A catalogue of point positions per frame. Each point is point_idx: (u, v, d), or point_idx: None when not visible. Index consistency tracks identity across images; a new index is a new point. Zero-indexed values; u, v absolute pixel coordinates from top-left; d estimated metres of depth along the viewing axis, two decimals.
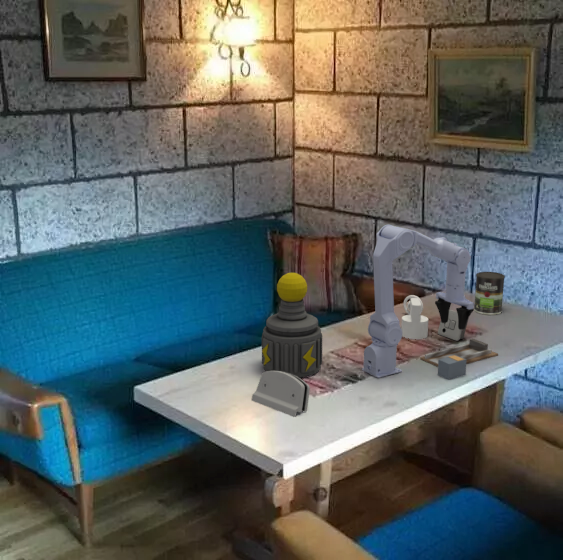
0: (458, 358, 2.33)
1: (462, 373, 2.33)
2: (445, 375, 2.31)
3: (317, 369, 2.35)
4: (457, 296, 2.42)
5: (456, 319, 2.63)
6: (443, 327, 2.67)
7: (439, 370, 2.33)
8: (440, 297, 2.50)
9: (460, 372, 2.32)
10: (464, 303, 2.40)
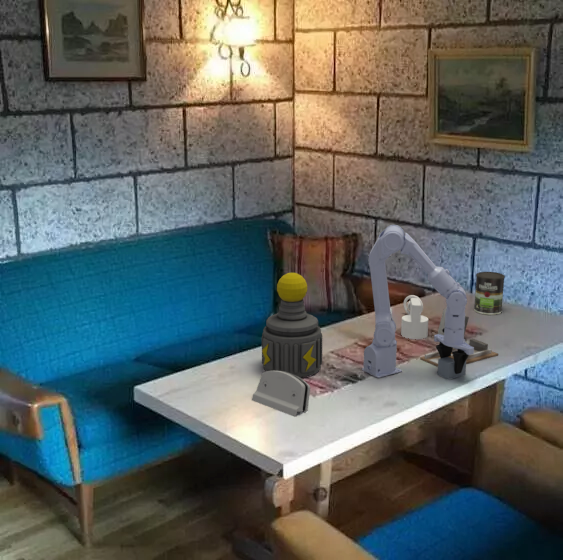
0: None
1: (462, 373, 2.33)
2: (445, 375, 2.31)
3: (317, 369, 2.35)
4: (456, 340, 2.28)
5: None
6: (443, 327, 2.67)
7: (439, 370, 2.33)
8: (438, 340, 2.36)
9: None
10: (464, 348, 2.26)
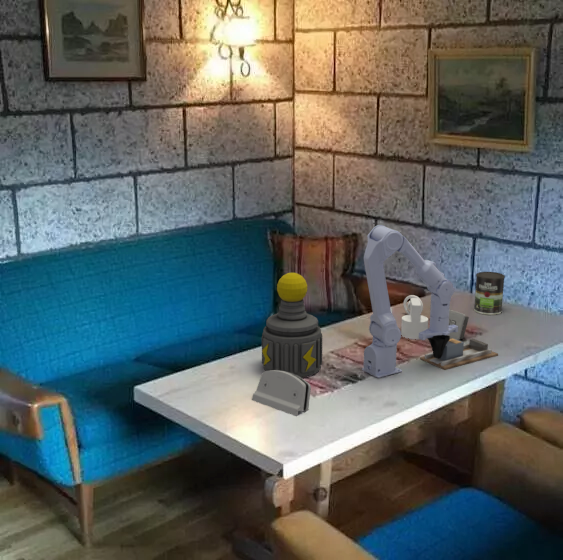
0: (456, 341, 2.45)
1: (460, 356, 2.45)
2: (443, 357, 2.43)
3: (317, 369, 2.35)
4: None
5: (456, 319, 2.63)
6: None
7: None
8: None
9: (457, 354, 2.44)
10: None
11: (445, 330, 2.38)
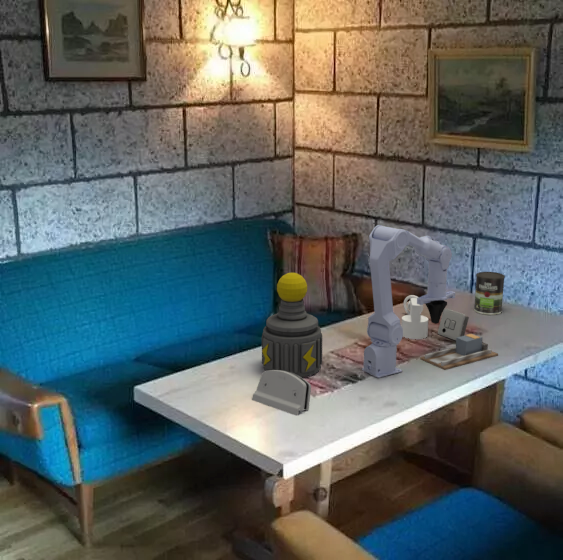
0: (474, 336, 2.49)
1: (478, 351, 2.49)
2: (462, 352, 2.47)
3: (317, 369, 2.35)
4: (427, 291, 2.47)
5: (456, 319, 2.63)
6: (443, 327, 2.67)
7: (457, 347, 2.49)
8: None
9: (476, 349, 2.48)
10: None
11: (442, 295, 2.45)
